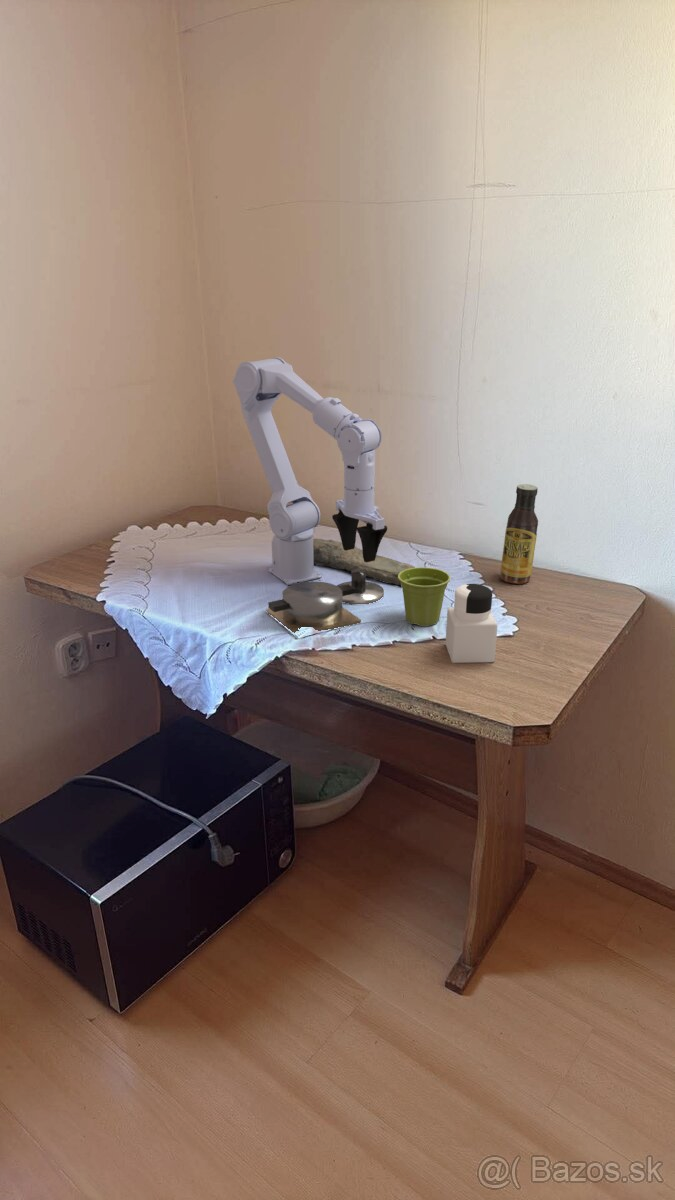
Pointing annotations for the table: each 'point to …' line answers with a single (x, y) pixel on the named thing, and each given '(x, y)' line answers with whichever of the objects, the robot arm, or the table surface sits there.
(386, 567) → the long grey stone
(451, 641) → the medicine bottle
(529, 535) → the sauce bottle
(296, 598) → the pot
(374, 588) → the lid
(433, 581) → the plant pot
